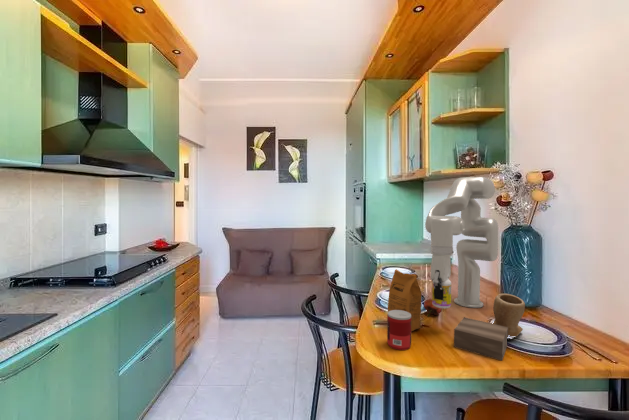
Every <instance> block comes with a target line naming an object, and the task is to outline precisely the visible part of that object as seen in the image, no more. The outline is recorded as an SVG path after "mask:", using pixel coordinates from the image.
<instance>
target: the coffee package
mask: <svg viewBox="0 0 629 420" xmlns="http://www.w3.org/2000/svg"><path fill="white" fill-rule="evenodd" d="M418 278H419V276H418V274H415V273H404V272H402V271H400V270H398V269H395V270H394V272H393V276H392V279H391V283H390V287H389V289H388V290H389V291H388V298H387V299H388V300H387V313H388V312H389V311H391V310H402V311H406V312H409V313H410V314H411V332H413V331H415V330H419V329H420V328H421V327H422V325H421V324H422V323H421V321H422V317H421V316H422V315H421V314H422V310H421V309H422V290H421V288H420V284H419V282H418Z"/></svg>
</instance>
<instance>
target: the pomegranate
mask: <svg viewBox="0 0 629 420" xmlns="http://www.w3.org/2000/svg"><path fill="white" fill-rule="evenodd" d="M423 308H424V309H425V311H426V310H427V311H426V312H427V317H429V316H430V315H435V316H439V315H440V314H441V312H442V309H443V308H438V307H435V306H434V305H433V304H432V298H428V299H426V300H424V302H423Z"/></svg>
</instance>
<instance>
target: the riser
mask: <svg viewBox="0 0 629 420" xmlns="http://www.w3.org/2000/svg"><path fill="white" fill-rule="evenodd" d="M507 337H508V327H505V326H501V325H496V324H492V322H487V321H482V320H479V319H475V318H474V319H473V318H469V317H466V316H464V317H463V318H462V319H461V320H460V322H459V323H458V324H457V325H456V326H455V328H454V329H453V347H454V348H456V349H461V350H463V351H467V352H471V353H475V354H478V355H482V356H485V357H487V358H492V359H495V360H499V361H503V360H504V356H505V353H506V351H507V347H508V345H507Z"/></svg>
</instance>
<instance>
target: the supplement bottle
mask: <svg viewBox="0 0 629 420" xmlns="http://www.w3.org/2000/svg"><path fill="white" fill-rule="evenodd" d="M448 277H449V274H448V275H447V280H446V281H444V282H443V288H442V289H443V300H438V299H434V282H433V281H434V280H431V281H432V283H431V287H432V291H431V292H432V294H431V296H432V297H431V299H432V304H433V305H434V306H435V307H438V308H442V309H450V308H451V307H452V281H451V280H450V277H449V279H448ZM439 280H440V281H441V279H439ZM438 283H439V282H438ZM440 285H441V283H440Z"/></svg>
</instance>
